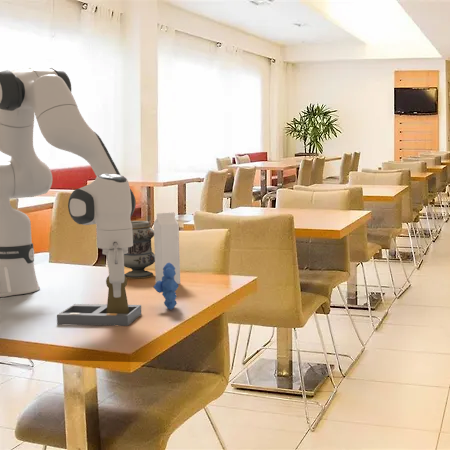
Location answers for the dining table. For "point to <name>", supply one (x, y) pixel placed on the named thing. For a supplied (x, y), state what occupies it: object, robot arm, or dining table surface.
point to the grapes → (168, 286)
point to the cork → (117, 299)
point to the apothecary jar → (140, 251)
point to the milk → (166, 244)
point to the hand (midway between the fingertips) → (116, 294)
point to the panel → (97, 315)
